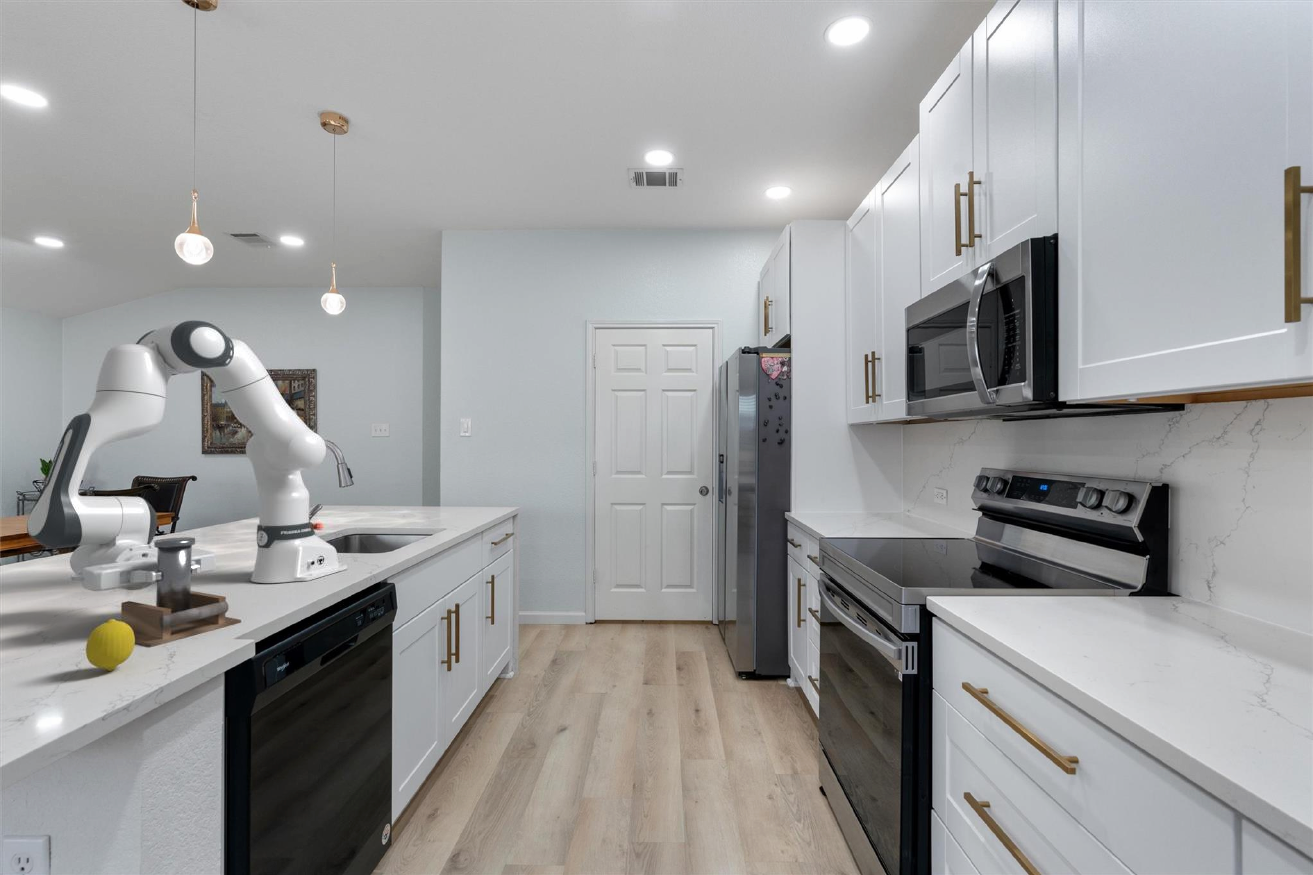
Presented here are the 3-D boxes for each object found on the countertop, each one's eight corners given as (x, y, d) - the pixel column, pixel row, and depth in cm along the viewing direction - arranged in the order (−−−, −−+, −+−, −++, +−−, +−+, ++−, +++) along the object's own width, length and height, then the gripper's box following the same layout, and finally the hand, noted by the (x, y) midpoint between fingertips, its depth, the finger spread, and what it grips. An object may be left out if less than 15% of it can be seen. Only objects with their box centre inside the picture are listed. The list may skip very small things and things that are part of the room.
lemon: (110, 678, 87) (111, 625, 87) (74, 677, 87) (75, 624, 87) (144, 664, 93) (144, 614, 93) (110, 663, 93) (111, 613, 93)
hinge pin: (181, 607, 114) (183, 536, 114) (200, 611, 111) (202, 538, 112) (145, 615, 108) (146, 541, 108) (164, 619, 106) (166, 543, 106)
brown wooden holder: (193, 613, 120) (194, 586, 120) (241, 622, 114) (241, 594, 114) (102, 635, 106) (102, 605, 106) (150, 646, 100) (151, 615, 100)
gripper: (66, 560, 105) (108, 567, 100) (192, 543, 124) (233, 548, 119) (65, 594, 105) (107, 603, 100) (191, 572, 124) (232, 578, 119)
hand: (177, 573), depth 110 cm, fingers closed on hinge pin, 5 cm apart
